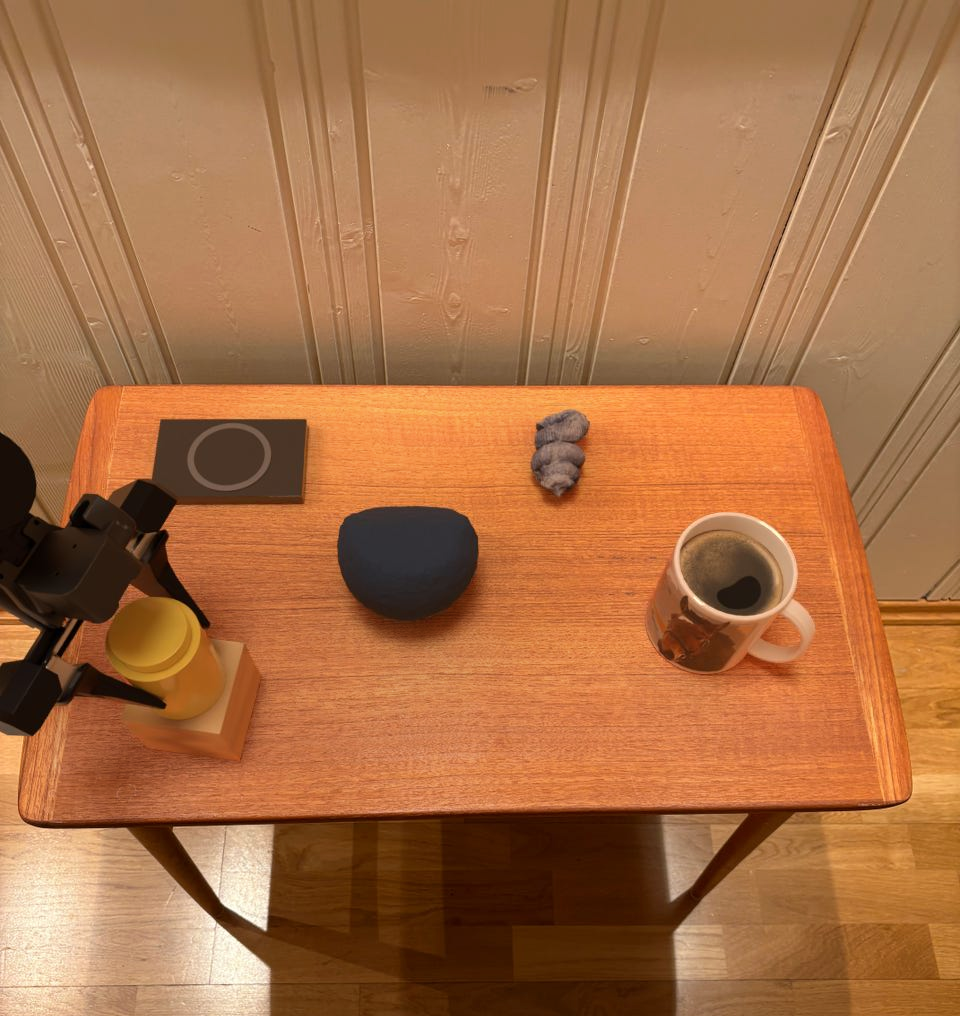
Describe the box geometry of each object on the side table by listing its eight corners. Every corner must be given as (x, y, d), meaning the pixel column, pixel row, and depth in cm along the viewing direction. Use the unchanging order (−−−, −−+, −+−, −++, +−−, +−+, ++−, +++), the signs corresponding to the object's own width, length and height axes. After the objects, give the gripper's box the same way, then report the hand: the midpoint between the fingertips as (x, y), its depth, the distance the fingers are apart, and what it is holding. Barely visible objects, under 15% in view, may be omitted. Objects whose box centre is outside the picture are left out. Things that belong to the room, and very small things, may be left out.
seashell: (551, 431, 88) (551, 517, 84) (522, 403, 84) (521, 491, 80) (597, 413, 85) (600, 501, 81) (570, 383, 81) (571, 473, 77)
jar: (130, 713, 65) (85, 667, 57) (154, 637, 68) (115, 582, 60) (214, 725, 65) (181, 680, 57) (235, 648, 68) (206, 595, 60)
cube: (148, 748, 71) (119, 720, 65) (174, 664, 75) (149, 629, 68) (239, 761, 71) (219, 734, 65) (261, 676, 74) (244, 642, 68)
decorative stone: (488, 630, 77) (494, 576, 68) (355, 654, 76) (343, 602, 67) (462, 520, 82) (465, 455, 73) (336, 539, 80) (322, 476, 71)
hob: (152, 504, 81) (148, 496, 80) (163, 426, 85) (159, 417, 84) (303, 503, 82) (301, 495, 81) (308, 426, 86) (306, 417, 84)
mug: (731, 563, 81) (772, 496, 71) (790, 677, 76) (842, 622, 66) (627, 592, 79) (655, 528, 69) (681, 711, 75) (718, 660, 65)
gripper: (-83, 664, 44) (173, 792, 53) (103, 394, 52) (300, 546, 61) (-125, 672, 52) (104, 782, 61) (41, 438, 60) (223, 566, 69)
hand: (185, 666), depth 63 cm, fingers closed on jar, 6 cm apart
